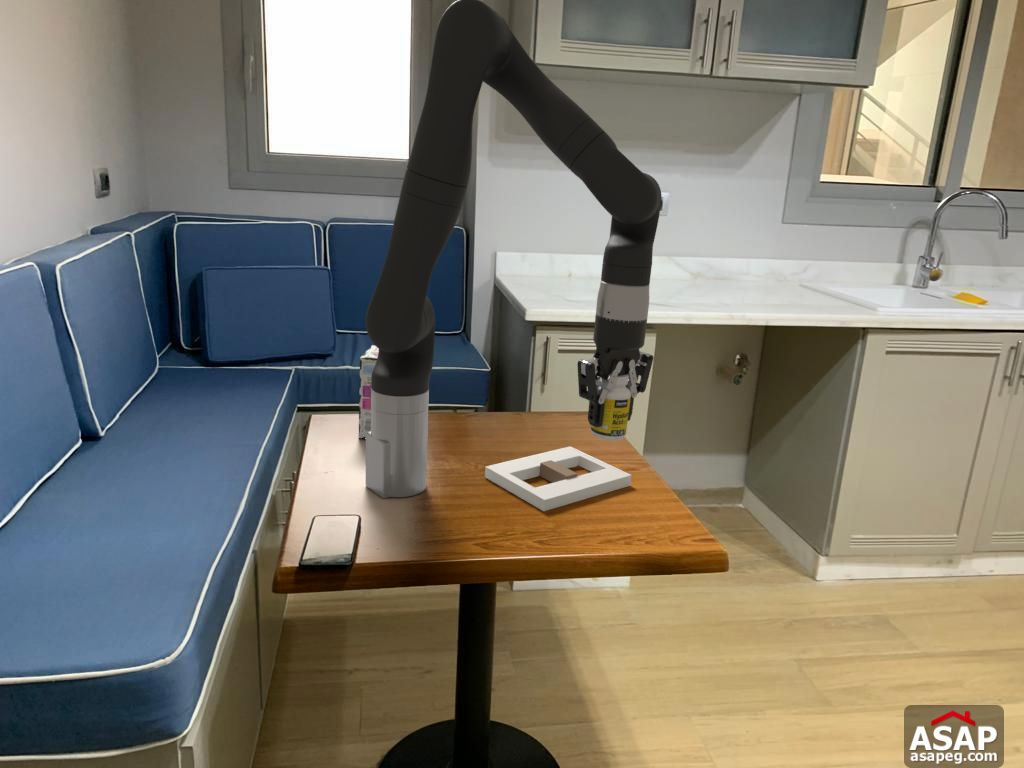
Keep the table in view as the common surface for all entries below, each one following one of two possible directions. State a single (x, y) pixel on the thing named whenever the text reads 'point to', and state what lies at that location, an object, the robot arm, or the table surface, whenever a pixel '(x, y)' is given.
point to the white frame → (557, 477)
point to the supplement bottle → (614, 411)
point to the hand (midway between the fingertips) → (609, 422)
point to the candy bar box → (366, 389)
